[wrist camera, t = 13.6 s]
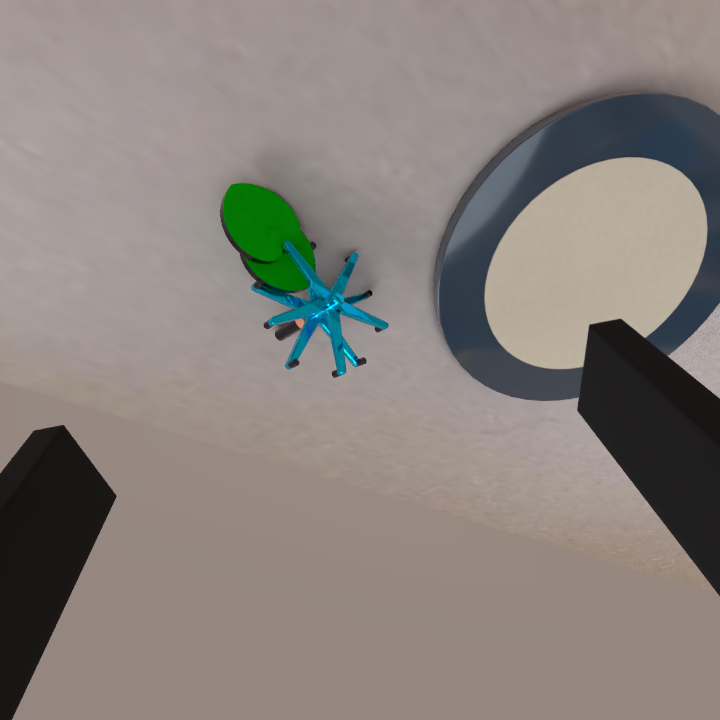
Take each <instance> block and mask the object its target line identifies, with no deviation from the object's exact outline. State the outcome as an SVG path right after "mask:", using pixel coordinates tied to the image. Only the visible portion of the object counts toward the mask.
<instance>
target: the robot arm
mask: <svg viewBox="0 0 720 720" xmlns="http://www.w3.org/2000/svg"><path fill="white" fill-rule="evenodd" d="M577 411H578V412H579V413H580V415H581V416H582V417H583V419H584V420H585V421H586V422H587V424H588V425H589V426H590V428H591V429H592V430H593V432H594V433H595V434H596V435H597V437H598V438H599V439H600V441H601V442H602V443H603V445H604V446H605V447H606V449H607V450H608V451H609V452H610V454H611V455H612V456H613V458H614V459H615V460H616V462H617V463H618V464H619V465H620V467H621V468H622V469H623V471H624V472H625V473H626V475H627V476H628V477H629V478H630V480H631V481H632V482H633V484H634V485H635V486H636V488H637V489H638V490H639V491H640V493H641V494H642V495H643V497H644V498H645V499H646V501H647V502H648V503H649V505H650V506H651V507H652V508H653V510H654V511H655V512H656V514H657V515H658V516H659V518H660V519H661V520H662V521H663V523H664V524H665V525H666V527H667V528H668V529H669V531H670V532H671V533H672V534H673V536H674V537H675V538H676V540H677V541H678V542H679V544H680V545H681V546H682V547H683V549H684V550H685V551H686V553H687V554H688V555H689V557H690V558H691V559H692V560H693V562H694V563H695V564H696V566H697V567H698V568H699V570H700V571H701V572H702V574H703V575H704V576H705V577H706V579H707V580H708V581H709V583H710V584H711V585H712V587H713V588H714V589H715V590H716V592H717V593H718V594H719V596H720V399H719V398H718V397H717V396H716V395H714V394H713V393H712V392H711V391H710V390H708V389H707V388H706V387H705V386H703V385H702V384H701V383H700V382H699V381H697V380H696V379H695V378H694V377H692V376H691V375H690V374H689V373H687V372H686V371H685V370H684V369H683V368H681V367H680V366H679V365H678V364H676V363H675V362H674V361H673V360H671V359H670V358H669V357H668V356H667V355H665V354H664V353H663V352H662V351H660V350H659V349H658V348H657V347H655V346H654V345H653V344H652V343H651V342H649V341H648V340H647V339H646V338H644V337H643V336H642V335H641V334H639V333H638V332H637V331H636V330H635V329H633V328H632V327H631V326H630V325H628V324H627V323H626V322H625V321H623V320H622V319H621V318H620V319H615V320H610V321H605V322H599V323H594V324H589V329H588V336H587V344H586V351H585V358H584V365H583V372H582V380H581V387H580V394H579V401H578V409H577ZM115 499H116V494H115V493H114V492H113V490H112V489H111V488H110V486H109V485H108V484H107V482H106V481H105V480H104V479H103V477H102V476H101V474H100V473H99V472H98V471H97V469H96V468H95V466H94V465H93V464H92V462H91V461H90V460H89V458H88V457H87V456H86V454H85V453H84V452H83V450H82V449H81V448H80V446H79V445H78V444H77V442H76V441H75V440H74V438H73V437H72V436H71V434H70V433H69V432H68V430H67V429H66V428H65V426H64V425H61V426H56V427H50V428H45V429H41V430H35V431H33V433H32V434H31V435H30V436H29V438H28V439H27V440H26V441H25V443H24V444H23V445H22V447H21V448H20V449H19V450H18V452H17V453H16V454H15V455H14V457H13V458H12V459H11V461H10V462H9V463H8V464H7V466H6V467H5V468H4V469H3V471H2V472H1V473H0V720H12V718H13V716H14V714H15V712H16V710H17V707H18V705H19V703H20V701H21V699H22V697H23V695H24V693H25V691H26V688H27V686H28V684H29V682H30V680H31V678H32V676H33V673H34V671H35V669H36V667H37V665H38V663H39V661H40V658H41V656H42V654H43V652H44V650H45V648H46V646H47V644H48V642H49V639H50V637H51V635H52V633H53V631H54V629H55V627H56V624H57V622H58V620H59V618H60V616H61V614H62V612H63V609H64V607H65V605H66V603H67V601H68V599H69V597H70V595H71V592H72V590H73V588H74V586H75V584H76V582H77V580H78V578H79V575H80V573H81V571H82V569H83V566H84V565H85V563H86V561H87V558H88V556H89V554H90V552H91V550H92V548H93V546H94V543H95V541H96V539H97V537H98V535H99V533H100V531H101V529H102V526H103V524H104V522H105V520H106V518H107V516H108V514H109V512H110V509H111V507H112V505H113V503H114V501H115Z"/></svg>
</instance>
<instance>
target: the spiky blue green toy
mask: <svg viewBox="0 0 720 720" xmlns="http://www.w3.org/2000/svg"><path fill="white" fill-rule="evenodd" d="M220 217H221V223H222V227H223V229H224V232H225V234H226V236H227V238H228V240H229V241H230V243H231V244H232V245H233V247H234V248H235V249H236V250H237V251H238V252H239V253H240V257H241V260H242V262H243V264H244V266H245V268H246V269H247V271H248V272H249V273H250V275H251V276H252V277H253V278H254V279H255V280H256V282H255V283H254V284H252V285H251V290H252V291H254V292H257V293H259V294H261V295H263V296H265V297H268V298H270V299H272V300H274V301H277V302H279V303H281V304H283V305H286V306H288V307H290V308H292V309H293V310H290V311H288V312H285V313H282V314H280V315H277V316H274V317H272V318H271V319H269V320H268V321H266V322H265V323H264V327H265V328H266V329H270V328H271V327H273V326H274V325H278V324H282V323H286V322H289V323H287V324H285V325H284V326H282V327H281V328H279V329H278V330H276V332H275V336H276V338H277V339H278V340H280V341H282V340H284V339H286V338H287V337H289V336H291V335H292V334H294V333H296V332H297V331H299V330H301V331H300V333H299V336H298V338H297V340H296V342H295V344H294V347H293V349H292V351H291V353H290V355H289V358H288V360H287V362H286V364H285V367H286V369H292V368H294V367H296V366H298V365H299V361H298V358H299V357H300V355H301V353H302V351H303V350H304V348H305V346H306V344H307V343H308V341H309V339H310V337H311V336H312V334H313V332H314V331H315V329H316V327H317V326H318V325H319V326H320V327H321V328H322V329H323V330H324V331H325V333H326V334H327V335H328V336H329V337H330V338H331V342H332V347H333V352H334V357H335V362H336V367H337V370H334V371H333V372H332V376H333V377H334V378H336V377H338V376H341V375H344V374H345V373H346V364H345V356H346V357H347V359H348V360H349V361H350V362H351V363H352V365H353V366H354V367H358V366H361V365H363V364H366V359H365V358H361V359H358V357H357V356H356V355H355V353H354V352H353V350H352V349H351V348H350V346H349V345H348V343H347V342H346V341H345V339H344V338H343V336H342V331H341V323H340V314H341V315H344V316H346V317H349V318H352V319H355V320H358V321H360V322H363V323H366V324H369V325H372V326H375V331H376V332H380V331H382V330H384V329H387V328H388V326H389V325H388V323H387V322H385V321H383V320H381V319H379V318H376V317H374V316H372V315H370V314H368V313H366V312H364V311H362V310H360V309H358V308H356V307H354V306H352V305H353V304H356V303H358V302H361V301H363V300H365V299H367V298H368V297H370V296H372V291H370V290H368V291H366V292H365V293H363V294H359V295H355V296H351V297H347V298H344V297H343V292H344V290H345V287H346V285H347V283H348V280H349V278H350V275H351V273H352V271H353V268H354V266H355V263H356V261H357V259H358V254H357V253H356V252H354V253H352V254H351V255H350V256H348V257H347V258H346V259H345V262H346V264H345V265H344V267H343V269H342V271H341V272H340V274H339V276H338V277H337V279H336V281H335V282H334V284H333V286H332V288H331V289H328V288H327V287H326V285H325V284H324V283H323V282H322V281H321V279H320V278H319V277H318V276H317V274H316V269H315V259H314V254H313V251H312V250H313V249H315V248H316V243H314V242H311V243H309V241H308V240H307V238H306V236H305V235H304V234H303V233H302V231H301V230H300V226H299V222H298V220H297V217H296V215H295V214H294V212H293V210H292V209H291V208H290V207H289V205H288V204H287V203H286V202H285V201H284V200H283V199H282V198H280V197H279V196H278V195H276V194H275V193H273V192H272V191H270V190H268V189H266V188H263V187H261V186H258V185H253V184H246V183H240V184H233V185H231V186H230V187H229V189H228V190H227V192H226V193H225V195H224V197H223V199H222V203H221V209H220ZM306 289H308V297H309V301H306V300H303V299H300V298H298V297H295V296H292V295H289V294H286V293H297V292H301V291H304V290H306ZM344 355H345V356H344Z"/></svg>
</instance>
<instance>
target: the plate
mask: <svg viewBox="0 0 720 720" xmlns="http://www.w3.org/2000/svg"><path fill="white" fill-rule="evenodd" d="M719 303H720V115H718V114H717V113H716V112H714V111H713V110H711V109H710V108H708V107H707V106H704V105H702V104H700V103H697V102H695V101H693V100H690V99H688V98H684V97H679V96H674V95H669V94H662V93H637V92H628V93H620V94H612V95H605V96H601V97H597V98H594V99H590V100H586V101H583V102H580V103H577V104H575V105H573V106H570V107H568V108H565V109H563V110H561V111H558V112H556V113H554V114H553V115H551V116H549V117H547V118H546V119H544V120H542V121H540V122H539V123H537V124H535V125H533V126H532V127H531V128H529V129H528V130H527V131H525V132H524V133H523V134H521V135H520V136H518V137H517V138H516V139H514V140H513V141H512V142H511V143H510V144H508V145H507V146H506V147H505V148H504V149H503V150H502V151H501V152H500V153H499V154H498V155H497V156H495V157H494V158H493V159H492V160H491V162H490V163H489V164H488V165H487V166H486V167H485V168H484V170H483V171H482V172H481V173H480V174H479V175H478V176H477V178H476V179H475V180H474V182H473V183H472V185H471V186H470V187H469V189H468V190H467V192H466V193H465V195H464V196H463V197H462V199H461V201H460V203H459V204H458V206H457V208H456V210H455V212H454V214H453V215H452V217H451V219H450V221H449V224H448V226H447V229H446V231H445V234H444V236H443V239H442V242H441V245H440V249H439V253H438V257H437V261H436V267H435V275H434V304H435V310H436V316H437V320H438V323H439V326H440V329H441V332H442V334H443V336H444V338H445V340H446V342H447V344H448V346H449V348H450V350H451V352H452V354H453V355H454V357H455V358H456V359H457V361H458V362H459V363H460V365H461V366H462V367H463V368H464V369H465V370H466V371H467V372H468V373H469V374H470V375H471V376H472V377H474V378H475V379H476V380H478V381H479V382H481V383H482V384H483V385H485V386H487V387H489V388H491V389H493V390H495V391H497V392H500V393H503V394H506V395H509V396H511V397H516V398H521V399H526V400H538V401H553V400H565V399H572V398H578V397H579V394H580V387H581V380H582V372H583V365H584V358H585V351H586V344H587V336H588V329H589V324H594V323H599V322H605V321H610V320H615V319H620V318H621V319H622V320H623V321H625V322H626V323H627V324H628V325H630V326H631V327H632V328H633V329H635V330H636V331H637V332H638V333H639V334H641V335H642V336H643V337H644V338H646V339H647V340H648V341H649V342H651V343H652V344H653V345H654V346H655V347H657V348H658V349H659V350H660V351H662V352H663V353H664V354H665V355H667V356H668V355H669V354H671V353H672V352H673V351H674V350H676V349H677V348H678V347H679V346H680V345H681V344H683V343H684V342H685V341H686V340H687V339H688V338H689V337H690V336H691V335H692V334H693V333H694V332H695V331H696V330H697V329H698V328H699V327H700V326H701V325H702V324H703V323H704V322H705V321H706V320H707V318H708V317H709V316H710V314H711V313H712V312H713V311H714V309H715V308H716V307H717V306H718V304H719Z"/></svg>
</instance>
